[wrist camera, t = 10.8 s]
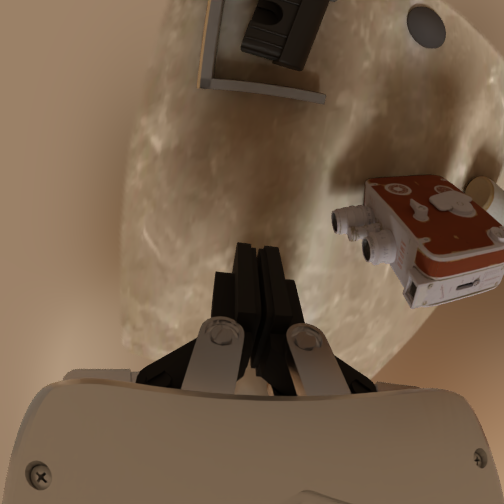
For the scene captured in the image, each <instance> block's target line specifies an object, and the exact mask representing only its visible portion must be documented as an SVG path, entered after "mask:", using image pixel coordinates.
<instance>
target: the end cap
mask: <svg viewBox="0 0 504 504" xmlns="http://www.w3.org/2000/svg"><path fill="white" fill-rule="evenodd" d="M329 1H330V0H259V1H258V4H257V7H256V9H255V12H254V15H253V17H252V20H251V21H250V23H249V25H248V28H247V31H246V33H245V36H244V39H243V42H242V44H241V50H242V51H243V52H246V53H250V54H253V55H257V56H260V57H264V58H267V59H270V60H273V64H276V65H280V66H283V67H286V68H289V69H293V70H297V71H302V70H303V68H304V66H305V63H306V60H307V58H308V55H309V53H310V50H311V47H312V45H313V42H314V40H315V37H316V34H317V32H318V29H319V27H320V24H321V21H322V19H323V16H324V14H325V11H326V8H327V6H328V3H329Z"/></svg>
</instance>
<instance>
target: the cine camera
mask: <svg viewBox="0 0 504 504" xmlns="http://www.w3.org/2000/svg"><path fill="white" fill-rule="evenodd" d="M331 218H332V226H333V230H334V232H335V233H336V234H348V239H349V241H358V239H363V240H362V251H363V255H364V258H365V260H366V262H372V264H373V265H379V264H380V263H385V264H390V266H391V267H392V269H393V270H394V272H395V274H396V275H397V277H398V279H399V280H400V282H401V284H402V285H403V287H404V290H403V295H404V297H405V299H406V301H407V302H408V304H409V306H410V308H411V309H414V308H418V307H432V306H436V305H440V304H444V303H448V302H452V301H455V300H459V299H462V298H466V297H469V296H473V295H476V294H479V293H482V292H486V291H488V290H491V289H494V288H496V287H497V286H498V285H499V283H500V282H501V279H502V277H503V275H504V227H503V226H502V225H501V224H500V223H499V222H498V221H497V220H496V219H495V218H493V217H492V216H491V215H490V214H489V213H488V212H487V211H485V210H484V209H483V208H482V207H481V206H479V205H478V204H477V203H476V202H475V201H473V200H472V198H471V197H470V196H467V195H466V194H465V193H463V192H462V191H461V190H459V189H458V188H457V187H456V186H454V185H453V184H452V183H450V182H449V181H447V180H446V179H444V178H442V177H441V176H438V175H417V176H399V177H383V178H372V179H368V180H366V182H365V196H364V206H362V205H358V206H349V207H344V208H341V209H336V210H335V211H332V216H331Z"/></svg>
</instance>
